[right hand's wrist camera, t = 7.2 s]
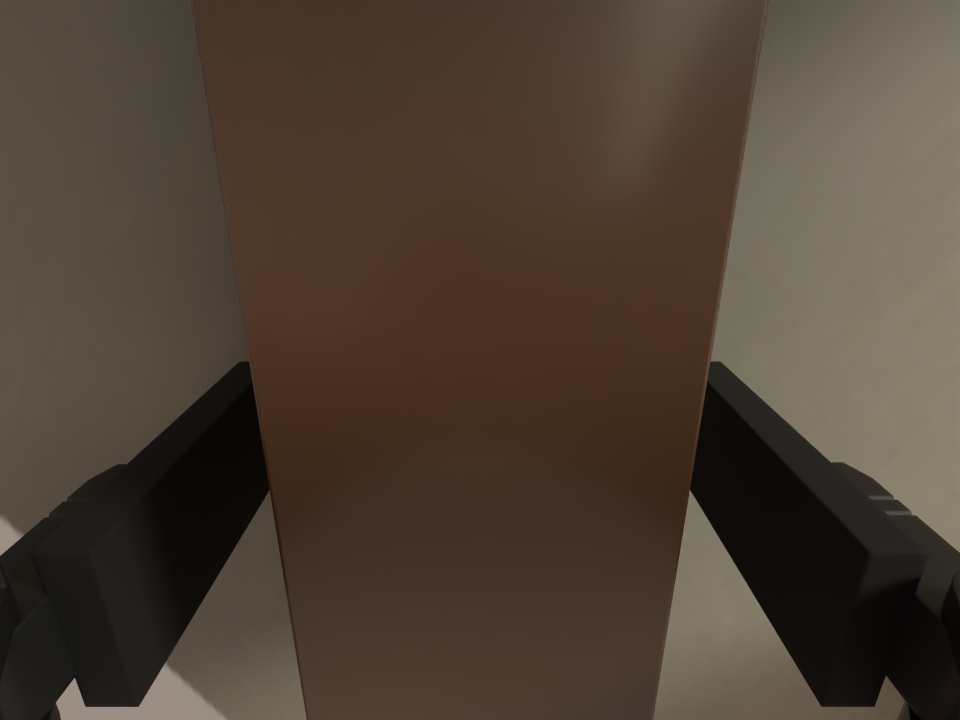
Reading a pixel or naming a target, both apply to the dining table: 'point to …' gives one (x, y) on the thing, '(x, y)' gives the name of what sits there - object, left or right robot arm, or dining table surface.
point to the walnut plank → (479, 329)
